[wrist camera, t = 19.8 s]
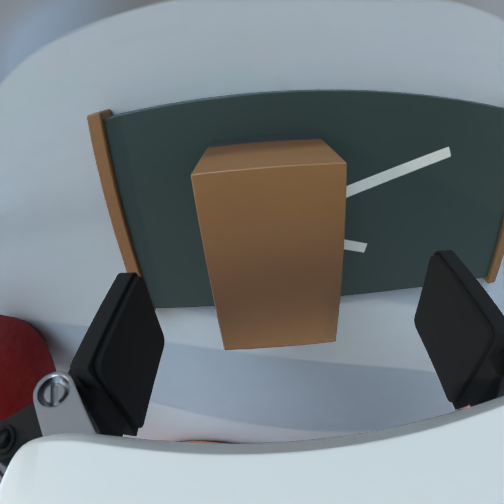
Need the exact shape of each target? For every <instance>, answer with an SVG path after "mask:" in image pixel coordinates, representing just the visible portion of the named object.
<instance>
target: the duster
mask: <svg viewBox="0 0 504 504" xmlns="http://www.w3.org/2000/svg"><path fill="white" fill-rule="evenodd" d="M191 180H192V186H193V192H194V198H195V204H196V210H197V215H198V221H199V226H200V232H201V237H202V243H203V248H204V253H205V259H206V264H207V269H208V274H209V279H210V284H211V289H212V294H213V299H214V304H215V309H216V313H217V318H218V323H219V327H220V332H221V337H222V341H223V346H224V349H225V350H236V349H255V348H270V347H283V346H295V345H306V344H316V343H326V342H335V341H336V333H337V324H338V315H339V305H340V294H341V282H342V270H343V255H344V238H345V217H346V182H347V163H346V162H345V161H344V160H343V159H342V158H341V157H340V156H339V155H338V154H337V153H336V152H335V151H334V150H333V149H332V148H331V147H330V146H329V145H328V144H326V143H325V142H324V141H323V140H322V139H321V138H320V137H319V136H318V135H317V134H315V133H309V134H289V135H273V136H259V137H248V138H237V139H227V140H218V141H212V142H211V143H210V145H209V146H208V148H207V149H206V151H205V152H204V154H203V155H202V157H201V159H200V160H199V162H198V164H197V165H196V167H195V169H194V170H193V172H192V174H191Z"/></svg>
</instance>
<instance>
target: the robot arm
mask: <svg viewBox="0 0 504 504" xmlns="http://www.w3.org/2000/svg"><path fill="white" fill-rule="evenodd" d="M414 321H415V326H416V329H417V331H418V333H419V335H420V337H421V339H422V341H423V344H424V346H425V348H426V350H427V352H428V354H429V357H430V359H431V361H432V363H433V366H434V368H435V370H436V373H437V375H438V377H439V380H440V382H441V384H442V387H443V389H444V392H445V394H446V397H447V399H448V400H449V402H453V405H454V407H455V410H456V409H460V408H463V407H466V406H468V405H469V404H470V407H469V408H466V409H462V410H459V411H455V412H452V413H449V414H445V415H442V416H438V417H434V418H431V419H427V420H423V421H419V422H415V423H410V424H406V425H401V426H397V427H392V428H387V429H382V430H376V431H371V432H365V433H359V434H353V435H346V436H339V437H331V438H323V439H314V440H303V441H291V442H275V443H249V444H213V443H187V442H172V441H158V440H147V439H137V438H128V437H122V436H123V434H124V435H131V436H137V431H138V428H141V427H142V426H143V424H144V421H145V416H146V412H147V408H148V404H149V400H150V396H151V392H152V389H153V385H154V381H155V377H156V373H157V370H158V366H159V362H160V358H161V355H162V351H163V348H164V335H163V332H162V330H161V327H160V324H159V322H158V319H157V316H156V313H155V310H154V308H153V305H152V302H151V299H150V296H149V293H148V290H147V287H146V284H145V281H144V279H143V277H141V276H138V274H137V273H136V272H130V273H119V274H118V275H117V277H116V279H115V281H114V282H113V284H112V286H111V288H110V290H109V291H108V293H107V295H106V297H105V299H104V300H103V302H102V304H101V306H100V308H99V310H98V312H97V313H96V315H95V317H94V319H93V321H92V323H91V325H90V327H89V329H88V331H87V333H86V335H85V337H84V339H83V341H82V343H81V345H80V347H79V349H78V351H77V353H76V355H75V357H74V359H73V361H72V363H71V365H70V367H71V368H70V370H69V372H68V374H67V373H65V372H53V373H50V374H48V375H46V376H45V377H43V378H42V379H41V380H40V381H39V382H38V383H37V385H36V387H35V389H34V393H33V402H34V403H32V404H30V405H29V406H27V407H25V408H23V409H22V410H20V411H18V412H17V413H15V414H13V415H11V416H10V417H8V418H6V419H4V420H3V421H1V422H0V504H504V315H503V314H502V313H501V311H500V310H499V308H498V307H497V306H496V304H495V303H494V302H493V300H492V299H491V298H490V296H489V295H488V294H487V292H486V291H485V290H484V288H483V287H482V286H481V284H480V283H479V282H478V281H477V279H476V278H475V277H474V276H473V274H472V273H471V272H470V271H469V269H468V268H467V267H466V266H465V265H464V263H463V262H462V261H461V260H460V259H459V257H458V256H457V255H456V254H455V253H454V252H453V251H452V250H441V251H436V252H435V253H434V255H433V256H431V257H430V260H429V264H428V268H427V272H426V277H425V281H424V285H423V289H422V292H421V296H420V300H419V303H418V307H417V311H416V314H415V319H414Z"/></svg>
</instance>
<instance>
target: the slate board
mask: <svg viewBox="0 0 504 504" xmlns="http://www.w3.org/2000/svg"><path fill="white" fill-rule="evenodd" d="M87 120H88V125H89V131H90V136H91V141H92V145H93V150H94V155H95V159H96V164H97V168H98V172H99V176H100V180H101V185H102V188H103V192H104V196H105V200H106V204H107V207H108V211H109V215H110V218H111V222H112V225H113V229H114V232H115V235H116V239H117V242H118V245H119V248H120V252H121V255H122V258H123V261H124V264H125V267H126V270H127V273H130V272H136V273H137V274H138V276H141V277H143V279H144V281H145V284H146V287H147V290H148V293H149V296H150V299H151V302H152V305H153V308H154V310H156V308H176V307H198V306H215V304H214V299H213V294H212V289H211V284H210V279H209V274H208V269H207V264H206V259H205V253H204V248H203V243H202V237H201V232H200V226H199V221H198V215H197V210H196V204H195V198H194V192H193V186H192V180H191V174H192V172H193V170H194V169H195V167H196V165H197V164H198V162H199V160H200V159H201V157H202V155H203V154H204V152H205V151H206V149H207V148H208V146H209V145H210V143H211V142H212V141H218V140H227V139H237V138H248V137H259V136H273V135H289V134H309V133H315V134H317V135H318V136H319V137H320V138H321V139H322V140H323V141H324V142H325V143H326V144H328V145H329V146H330V147H331V148H332V149H333V150H334V151H335V152H336V153H337V154H338V155H339V156H340V157H341V158H342V159H343V160H344V161H345V162H346V163H347V182H346V217H345V238H344V255H343V270H342V282H341V294H340V296H344V295H354V294H363V293H372V292H381V291H389V290H397V289H405V288H413V287H421V286H423V285H424V281H425V277H426V272H427V268H428V264H429V260H430V257H431V256H433V255H434V253H435V252H436V251H441V250H452V251H453V252H454V253H455V254H456V255H457V256H458V257H459V259H460V260H461V261H462V262H463V263H464V265H465V266H466V267H467V268H468V269H469V271H470V272H471V273H472V274H473V276H474V277H475V278H482V277H483V278H484V280H485V281H486V282H487V283H492V282H495V279H496V276H497V273H498V270H499V267H500V264H501V261H502V257H503V254H504V108H502V107H497V106H492V105H487V104H482V103H477V102H471V101H466V100H459V99H453V98H446V97H439V96H431V95H422V94H412V93H401V92H387V91H369V90H290V91H272V92H258V93H246V94H235V95H226V96H218V97H210V98H202V99H195V100H189V101H182V102H176V103H170V104H165V105H159V106H154V107H149V108H144V109H139V110H135V111H130V112H126V113H121V114H117V115H113V116H112V114H111V110H110V109H108V110H104V111H100V112H97V113H94V114H91V115H88V116H87Z"/></svg>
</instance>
